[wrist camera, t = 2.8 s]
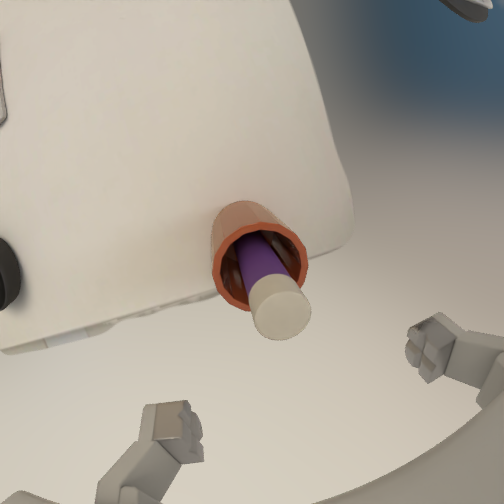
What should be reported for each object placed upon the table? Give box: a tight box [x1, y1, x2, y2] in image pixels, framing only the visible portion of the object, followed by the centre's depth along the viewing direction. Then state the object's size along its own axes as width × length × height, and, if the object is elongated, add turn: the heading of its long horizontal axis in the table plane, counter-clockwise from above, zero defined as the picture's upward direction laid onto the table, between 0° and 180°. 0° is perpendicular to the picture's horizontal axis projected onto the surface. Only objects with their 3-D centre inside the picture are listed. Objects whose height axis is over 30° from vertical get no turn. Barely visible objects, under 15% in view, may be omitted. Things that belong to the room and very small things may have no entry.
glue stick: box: [233, 230, 311, 340], centre depth 19 cm, size 3×3×14 cm
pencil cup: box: [211, 201, 308, 311], centre depth 22 cm, size 6×6×9 cm
